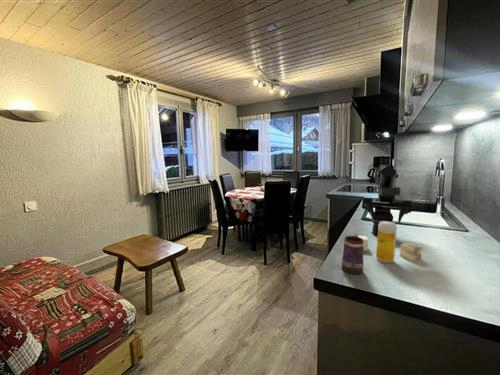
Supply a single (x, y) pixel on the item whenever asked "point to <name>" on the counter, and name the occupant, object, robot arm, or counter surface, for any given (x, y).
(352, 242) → the mug
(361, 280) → the counter surface
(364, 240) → the cream plastic block
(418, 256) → the birch block
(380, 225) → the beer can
